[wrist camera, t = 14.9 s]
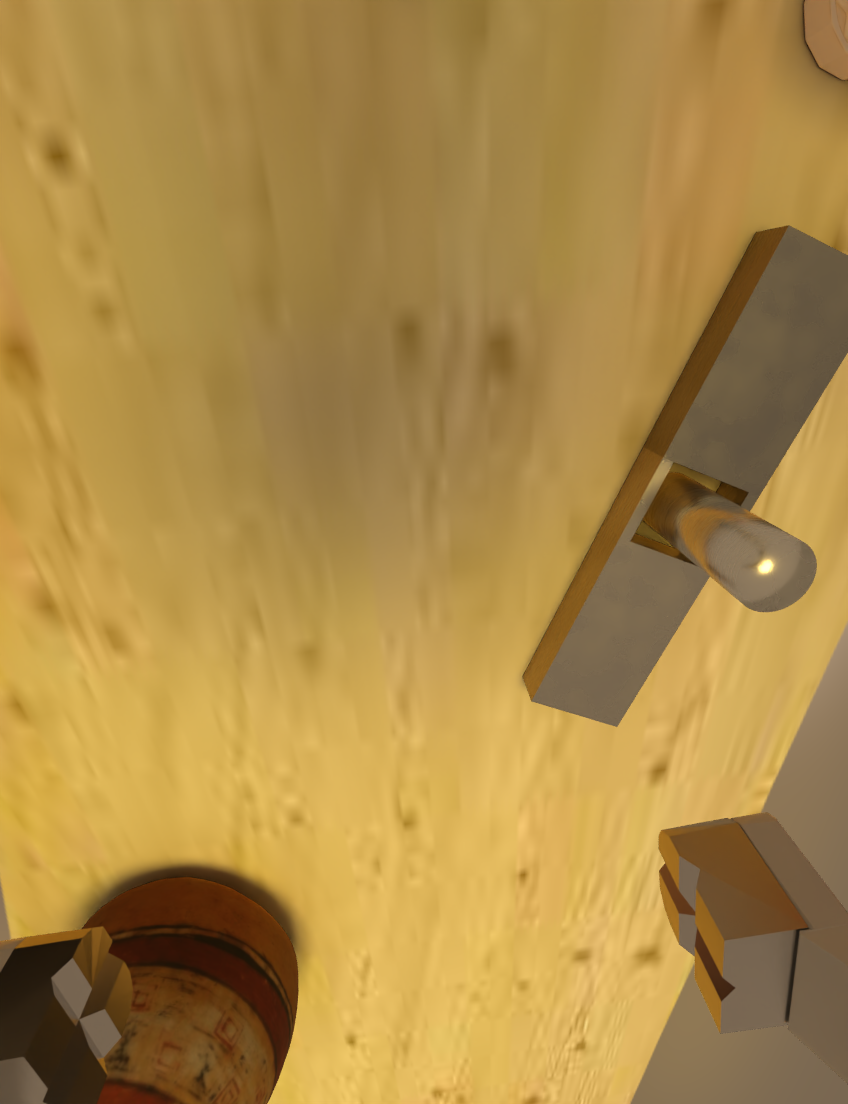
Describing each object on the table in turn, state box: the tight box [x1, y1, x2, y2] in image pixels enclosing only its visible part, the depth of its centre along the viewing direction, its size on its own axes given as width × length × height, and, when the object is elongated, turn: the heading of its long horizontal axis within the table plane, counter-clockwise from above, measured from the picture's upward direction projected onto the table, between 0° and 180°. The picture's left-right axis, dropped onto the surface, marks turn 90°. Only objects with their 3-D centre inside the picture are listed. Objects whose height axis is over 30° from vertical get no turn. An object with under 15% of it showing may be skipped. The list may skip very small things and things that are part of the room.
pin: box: [643, 472, 817, 612], centre depth 34 cm, size 4×4×12 cm
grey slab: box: [523, 226, 848, 727], centre depth 38 cm, size 32×7×3 cm, turn 159°
